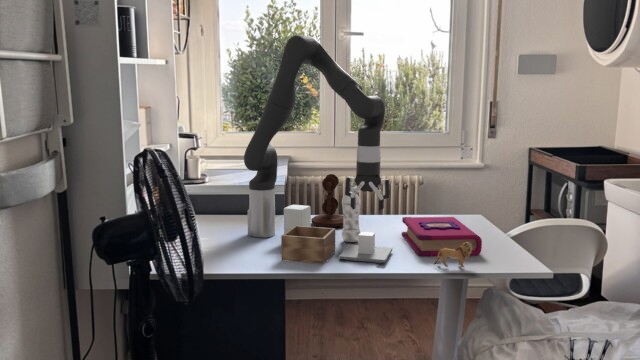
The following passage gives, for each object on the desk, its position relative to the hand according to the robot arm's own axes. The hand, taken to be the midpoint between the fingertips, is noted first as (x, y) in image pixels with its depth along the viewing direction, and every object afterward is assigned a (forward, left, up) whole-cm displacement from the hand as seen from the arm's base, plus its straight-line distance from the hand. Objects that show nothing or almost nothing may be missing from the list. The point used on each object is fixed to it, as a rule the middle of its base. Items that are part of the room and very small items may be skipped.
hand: (367, 209), depth 195 cm
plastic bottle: (-9, +16, -16) cm, 24 cm away
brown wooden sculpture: (-22, +38, -16) cm, 47 cm away
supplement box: (-27, +11, -16) cm, 33 cm away
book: (+21, +22, -16) cm, 35 cm away
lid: (0, 0, -15) cm, 15 cm away
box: (-18, -5, -15) cm, 24 cm away
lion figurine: (+28, -2, -16) cm, 32 cm away
